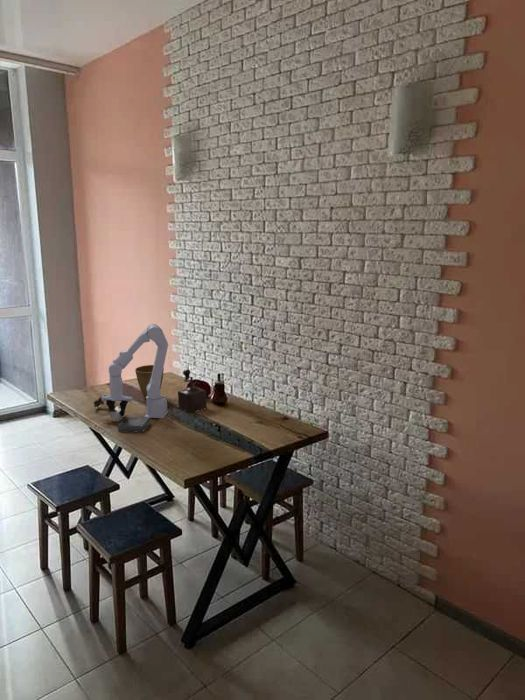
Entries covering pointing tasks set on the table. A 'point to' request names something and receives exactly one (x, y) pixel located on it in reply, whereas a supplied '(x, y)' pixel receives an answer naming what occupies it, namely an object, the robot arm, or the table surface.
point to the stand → (134, 424)
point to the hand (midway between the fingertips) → (118, 415)
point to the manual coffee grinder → (191, 396)
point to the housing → (116, 414)
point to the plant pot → (145, 377)
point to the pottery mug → (99, 402)
